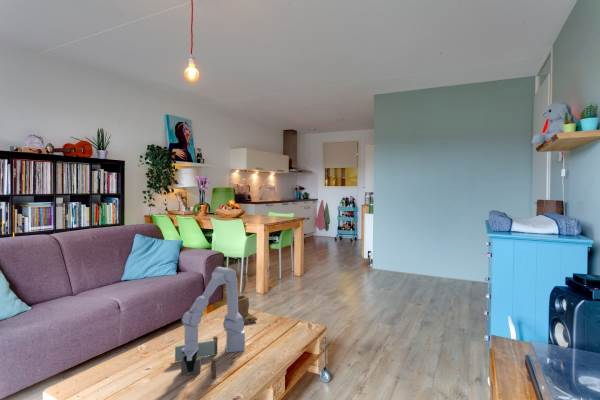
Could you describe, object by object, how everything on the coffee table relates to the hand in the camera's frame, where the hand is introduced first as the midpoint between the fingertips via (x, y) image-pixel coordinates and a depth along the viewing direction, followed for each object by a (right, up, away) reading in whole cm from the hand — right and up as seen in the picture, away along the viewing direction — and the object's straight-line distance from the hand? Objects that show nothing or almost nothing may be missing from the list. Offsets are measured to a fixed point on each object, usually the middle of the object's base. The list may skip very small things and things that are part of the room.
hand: (191, 368), depth 146 cm
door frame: (+9, -1, +6) cm, 11 cm away
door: (-1, -1, +11) cm, 12 cm away
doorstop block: (0, -2, 0) cm, 2 cm away
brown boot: (+13, 0, +58) cm, 60 cm away
